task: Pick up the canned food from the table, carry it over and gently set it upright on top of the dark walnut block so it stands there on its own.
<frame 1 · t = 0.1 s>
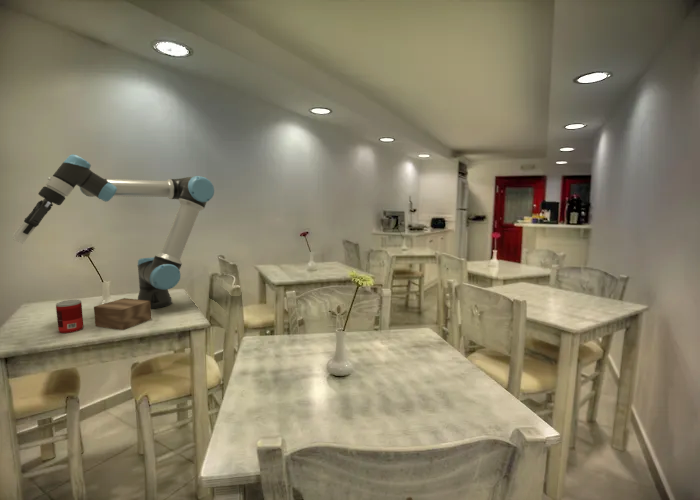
hand: (16, 240, 135), 36 cm above the table, tool tilted 35°, fingers open, 13 cm apart
canned food: (71, 330, 147), on the table
walnut block: (124, 322, 156), on the table
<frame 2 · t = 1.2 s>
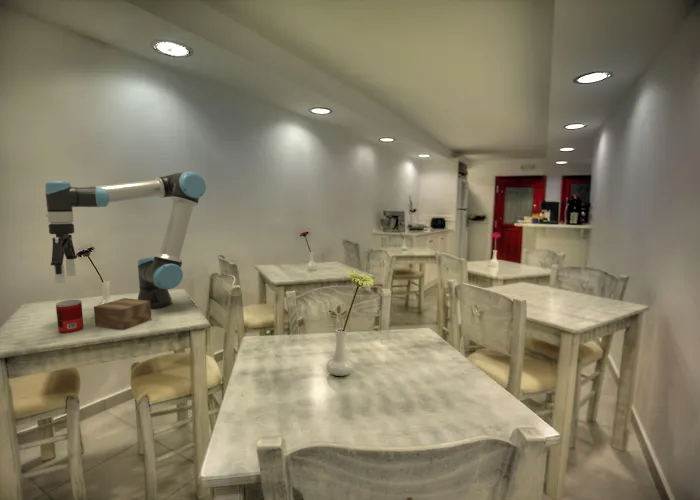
hand: (66, 279, 144), 20 cm above the table, tool pointing down, fingers open, 13 cm apart
nothing on the table moved.
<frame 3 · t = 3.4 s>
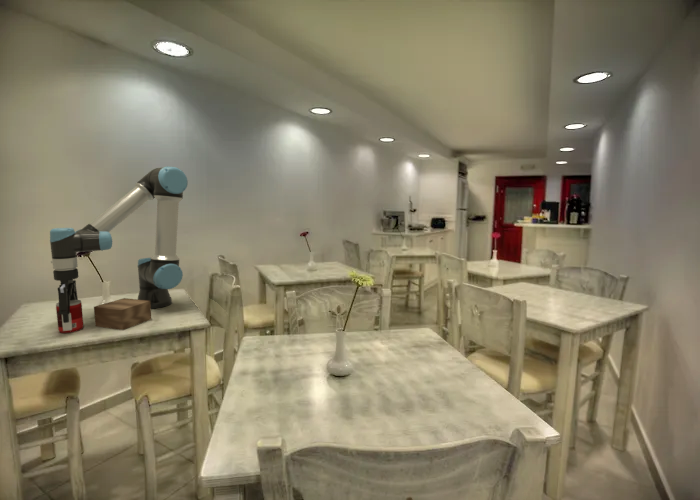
hand: (71, 326, 147), 1 cm above the table, tool pointing down, fingers closed on canned food, 8 cm apart
canned food: (71, 330, 147), on the table, touching gripper
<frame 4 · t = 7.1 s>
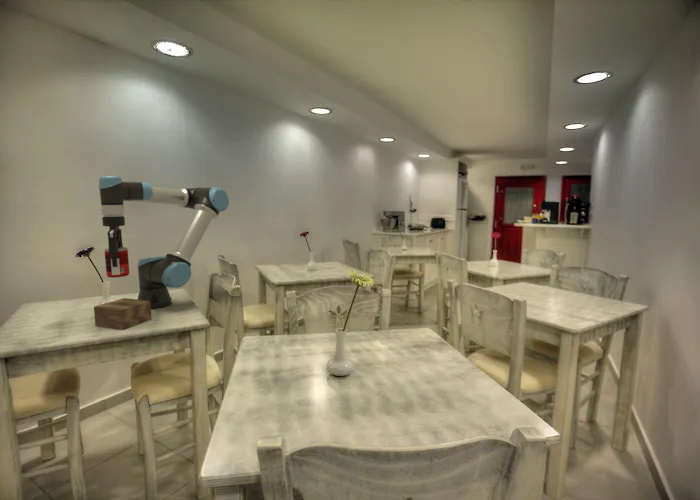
hand: (118, 272, 153), 21 cm above the table, tool pointing down, fingers closed on canned food, 8 cm apart
canned food: (118, 276, 153), point 20 cm above the table, touching gripper
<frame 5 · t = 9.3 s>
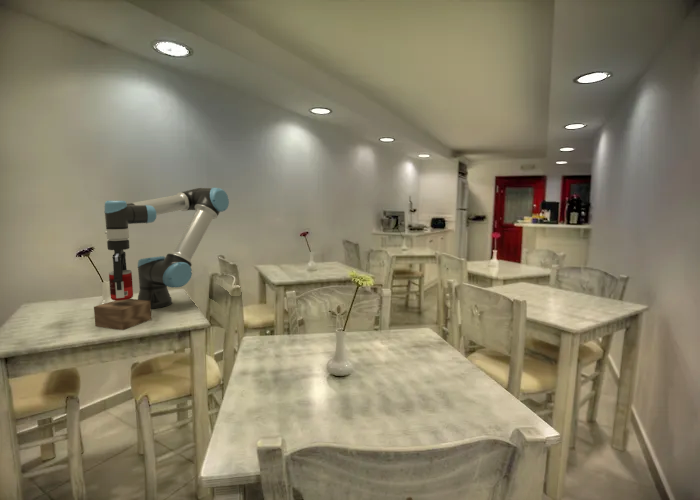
hand: (122, 295, 154), 12 cm above the table, tool pointing down, fingers closed on canned food, 8 cm apart
canned food: (122, 298, 154), point 10 cm above the table, touching gripper
when the fingers open (10 cm above the table, at t = 11.1 s): canned food stays where it is, resting on walnut block.
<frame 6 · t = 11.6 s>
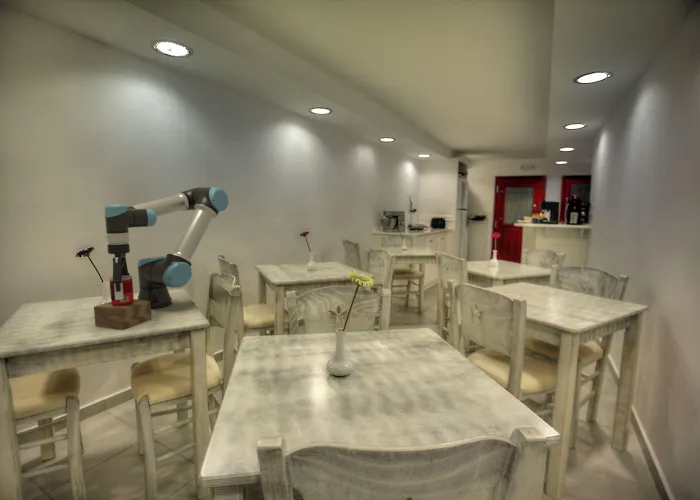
hand: (122, 295, 154), 11 cm above the table, tool pointing down, fingers open, 13 cm apart
canned food: (123, 304, 155), point 8 cm above the table, touching walnut block
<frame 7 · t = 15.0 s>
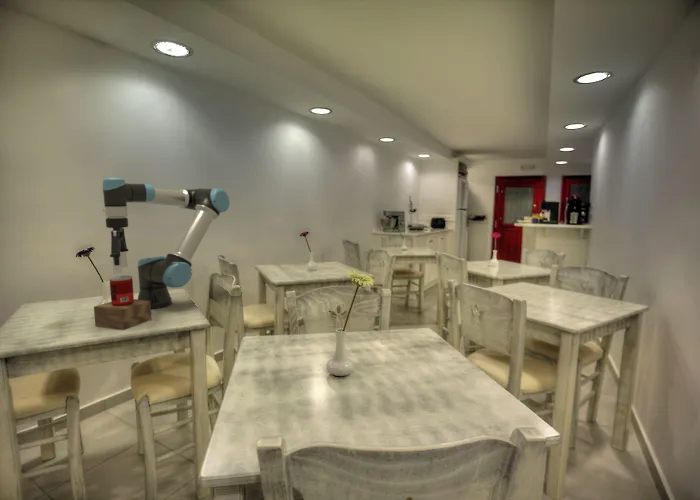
hand: (121, 270, 153), 22 cm above the table, tool pointing down, fingers open, 13 cm apart
nothing on the table moved.
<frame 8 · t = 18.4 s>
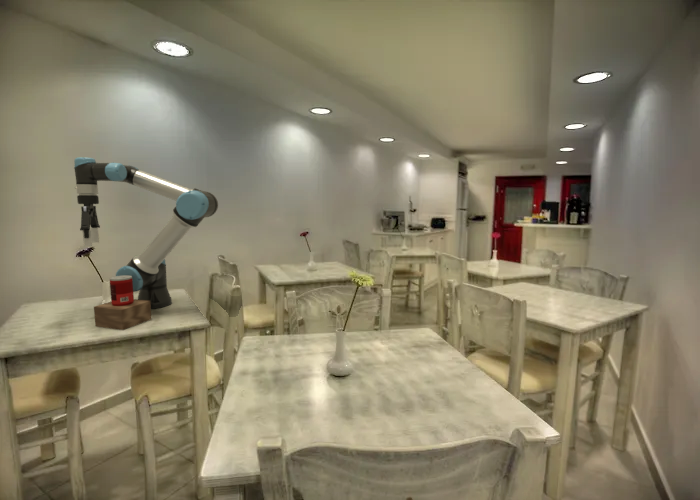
hand: (91, 244, 165), 31 cm above the table, tool pointing down, fingers open, 13 cm apart
nothing on the table moved.
at the end: canned food inside the target area on the walnut block (0.1 cm from its centre), point 7.8 cm above the walnut block's base; canned food tilted 0°; the gripper is holding nothing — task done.
